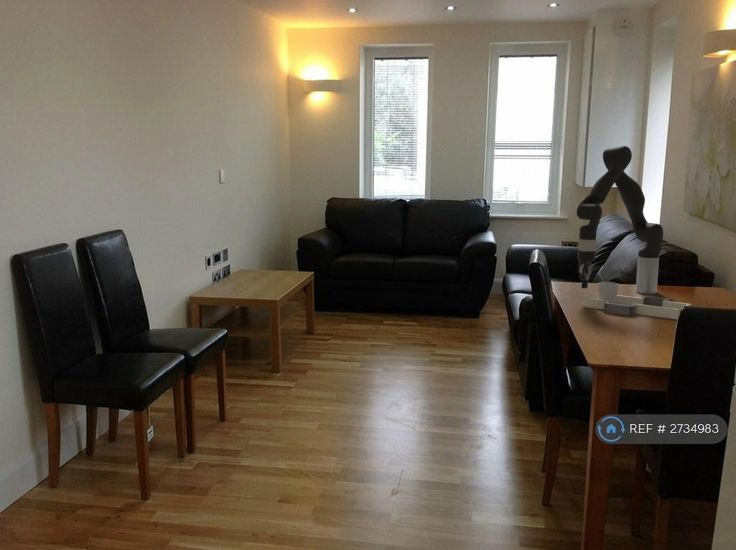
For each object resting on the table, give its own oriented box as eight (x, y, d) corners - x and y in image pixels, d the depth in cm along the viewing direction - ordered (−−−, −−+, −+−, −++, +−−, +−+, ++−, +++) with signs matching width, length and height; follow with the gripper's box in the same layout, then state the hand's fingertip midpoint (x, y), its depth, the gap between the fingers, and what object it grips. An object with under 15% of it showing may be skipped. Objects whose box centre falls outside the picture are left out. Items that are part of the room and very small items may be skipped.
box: (600, 299, 294) (601, 290, 294) (693, 310, 271) (693, 301, 270) (580, 309, 275) (581, 300, 275) (678, 322, 252) (679, 312, 251)
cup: (616, 304, 283) (618, 282, 281) (617, 308, 276) (618, 285, 274) (597, 303, 286) (598, 281, 284) (597, 307, 278) (598, 284, 276)
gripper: (583, 247, 290) (581, 285, 293) (572, 250, 280) (570, 289, 283) (600, 248, 285) (598, 287, 288) (590, 251, 275) (587, 291, 278)
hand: (584, 288), depth 286 cm, fingers closed
